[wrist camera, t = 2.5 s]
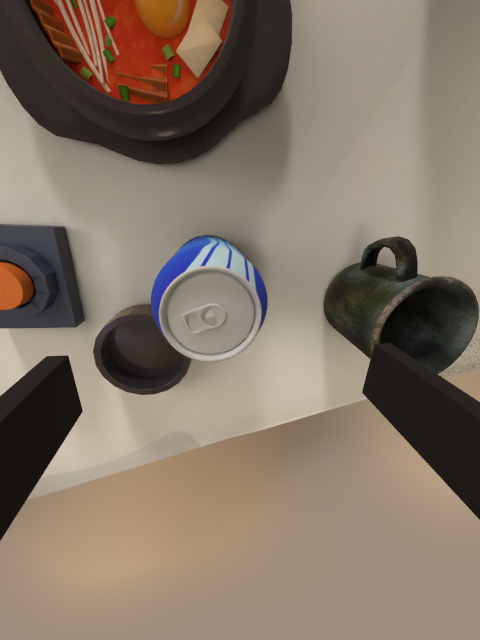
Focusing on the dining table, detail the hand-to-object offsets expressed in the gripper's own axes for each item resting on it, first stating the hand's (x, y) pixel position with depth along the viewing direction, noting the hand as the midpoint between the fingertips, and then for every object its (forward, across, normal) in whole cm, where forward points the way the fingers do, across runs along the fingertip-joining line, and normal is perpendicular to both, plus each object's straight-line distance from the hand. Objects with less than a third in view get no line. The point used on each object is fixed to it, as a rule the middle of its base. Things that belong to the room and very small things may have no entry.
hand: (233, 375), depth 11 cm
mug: (+22, +19, -2) cm, 29 cm away
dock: (+22, -9, -9) cm, 25 cm away
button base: (+22, -21, 0) cm, 30 cm away
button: (+18, -21, 0) cm, 28 cm away
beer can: (+22, -1, +1) cm, 22 cm away
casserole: (+22, -6, +21) cm, 31 cm away
